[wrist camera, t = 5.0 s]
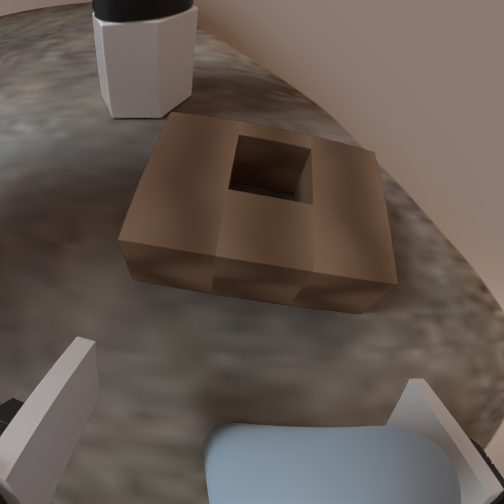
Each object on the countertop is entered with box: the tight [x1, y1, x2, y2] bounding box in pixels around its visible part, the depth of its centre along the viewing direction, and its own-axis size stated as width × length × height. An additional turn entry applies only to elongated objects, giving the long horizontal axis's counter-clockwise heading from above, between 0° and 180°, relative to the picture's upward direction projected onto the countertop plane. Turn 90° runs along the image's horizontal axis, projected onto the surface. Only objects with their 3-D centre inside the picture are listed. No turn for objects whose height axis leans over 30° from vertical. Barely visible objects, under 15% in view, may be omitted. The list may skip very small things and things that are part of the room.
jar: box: [92, 0, 198, 118], centre depth 22 cm, size 9×8×12 cm
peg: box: [203, 422, 461, 504], centre depth 8 cm, size 3×3×14 cm
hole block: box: [118, 112, 398, 314], centre depth 19 cm, size 14×10×4 cm
